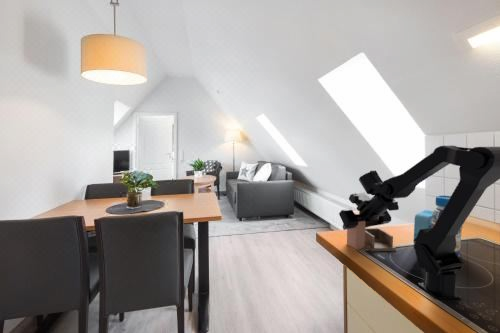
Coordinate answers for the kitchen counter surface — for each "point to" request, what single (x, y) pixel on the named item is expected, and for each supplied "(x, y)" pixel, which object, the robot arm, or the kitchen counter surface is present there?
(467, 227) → the kitchen counter surface
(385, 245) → the book rack
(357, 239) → the pink tall block
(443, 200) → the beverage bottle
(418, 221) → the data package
